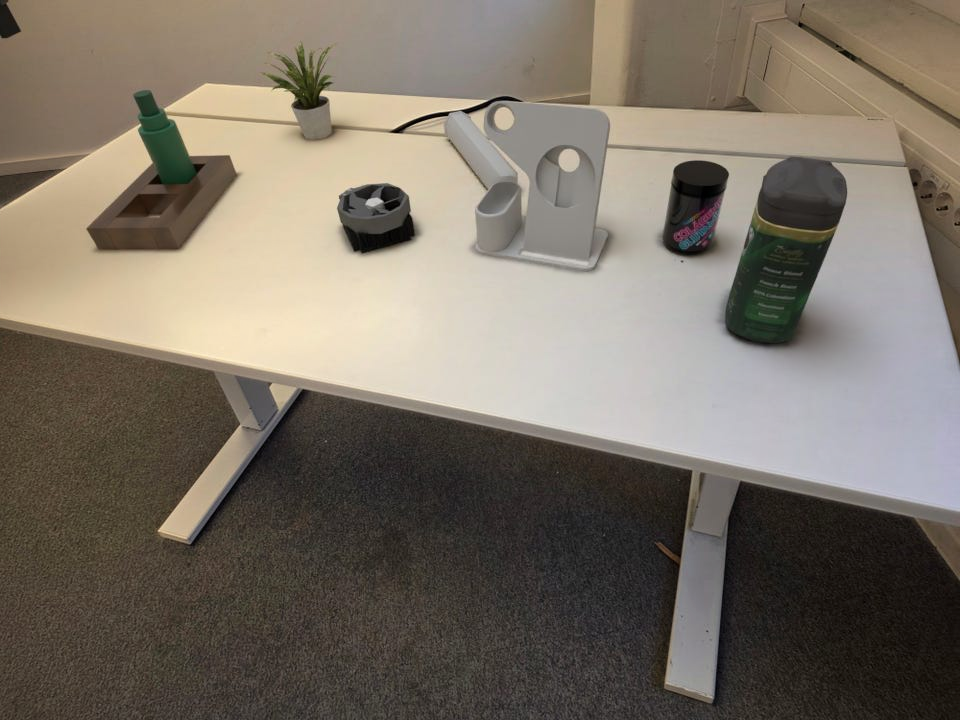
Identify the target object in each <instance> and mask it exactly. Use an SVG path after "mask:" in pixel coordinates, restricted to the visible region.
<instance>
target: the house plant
mask: <svg viewBox="0 0 960 720" xmlns="http://www.w3.org/2000/svg"><path fill="white" fill-rule="evenodd" d="M337 45H339V42H337V43H333V44H331V45H329V46H327V47H326V48H325V49H324V50H323V51H322V53H321V54H320V56H319V58H318V60H317V64H316V69H315V66H314V54H315V52H317V51H319V50H321V49H322V47H318V48H316V49H314V50H313V49H311V50H310V51H309V55H308V66H307V65H306V57H305V56H306V55H305V47H304V45H303V41H300V42H299V45H298V48H296V47H294V50H295V52H296V55H297V57H296V58H297V61H298V64H299V67H300V69H299V68H298V66H297V65H296V64H295V63H294V61H293V60H292V59H290V58H289V57H288V56H287V55H285V53H282V52H281V51H278V53H279V54H277V53H273V52H267V53H268V54H269V55H273V56H274V57H276V58H275V59H277V60H280V61H281V62H282V63H283V64H284V65H285V66H286V67H287V69H284V70H283V69H281V68H279V67H277V66H276V65H274V64H271V63H268V62H264V64H265V65H269V66H271V67H273V68H275V69H277V70H279V71H280V72H281V73H282V74H284V75H285V76H286V77H287V78H288V79H289V80H290V81H291V82H292V83H291V82H290V81H288V80H286V79H285V78H282V77H280V76H278V75H275V74H273V73H270V72H263V71H262V72H260V73H261V74H262V75H264V76H266V77H268V78H269V79H270V80H272V81H273V82H274V83H276V84H278V85H275V86H274V87H273V88H271V91H270V92H272V91H274V90H276V89H285V90H284V92H286V93H287V92H290V93H291V94H293V96H294V101H293V102H292V103H291V105H290V108H291V109H292V113H293V114H294V116H295V118H296V121H297V124H298V125H299V127H300V130H301V132H302V134H303V137H304V138H305V139H306V140H310V141H315V140H323V139H326V138H328V137H329V136H331V134H332V133H333V132H332V131H333V130H332V118H331V117H332V116H331V105H330V99H329V98H328V97H327V96H324V95H321V93H322V92H323V90H325V89H328V90H330V85H332V84H334V82H333V81H327V80H329V79H330V78H335V76H332V75H331V74H330V75H329V74H325V75H322V76H321V78H320V75H321V74H322V71H323V70H324V67H325V65H326V64H327V61H329V59H330V57H328V58H327V59H326V60H325V61H324V59H325V57H326V55H328V52H329V51H330V50H331V49H332V48H333V47H334V46H337ZM282 55H283V56H282ZM323 61H324V63H323ZM322 63H323V65H322ZM321 66H322V67H321ZM314 69H315V73H314ZM293 84H294V85H293Z"/></svg>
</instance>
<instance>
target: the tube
mask: <svg viewBox="0 0 960 720" xmlns="http://www.w3.org/2000/svg"><path fill="white" fill-rule="evenodd" d="M443 129H444V130H443V131H444V136H445V137H446V138H447V139H449V140H450V142H451V143H452V144H453V145H454V147H455V149H457V151H458V152H459V153H460V155H461V156H462V158H463V159H464V161H466V163H467V164H468V165H469V167H470V168H471V169H472V170H473V172H474V173H475V175H476V176H477V178H479V180H480V181H481V183H482V184H483V185H484V186H485V188H486V189H487V191H488V190H489V188H490V187H491V186H492V185H493V184H495V183H498V182H502V181H510V182H514V183H517V184H518V185H519V177H518V176H519V175H518V174H519V173H518V171H517V170H516V169H515V168H514V167H513V165H512V164H510V162H509V161H508V160H507V158H506V157H505V156H504V155H503V154H502V153H501V152H500V151H499V149H497V146H496V145H495V144H494V143H493V142H492V141H491V140H490V139H489V138H488V137H487V135H486V134H485V133H483V131H482V130H481V129H480V128H479V127H478V125H476V123H475V122H474V120H472V117H471V116H470V114H467V113H465V112H464V111H461V110H459V111H454V112H449V114H448V115H447V117H446V118H445V121H444V122H443Z"/></svg>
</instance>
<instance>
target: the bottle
mask: <svg viewBox="0 0 960 720" xmlns="http://www.w3.org/2000/svg"><path fill="white" fill-rule="evenodd" d="M132 95H133V98H134V99H133V100H134V101H135V103H136V105H137V107H138V109H139V113H138V114H137V115H136V117H137V119H138V121H139V123H140V126H139V127H138V128H137V133H138V135H139V136H140V138H141V141H142V143H143V145H144V147H145V149H146V151H147V154H148V155H149V158H150V161H151V162H152V163H153V164H154V166H155V169H156V171H157V173H158V175H159V177H160V179H161V181H162V184H163V185H164V184H189V183H190V181H191V180H192V179H193V178H194V177H195V176H196V175H197V173H196V170H195V168H194V165H193V163H192V161H191V158H190V156H191V155H190V154H189V151H188V149H187V147H186V144H185V141H184V138H183V136H182V135H181V132H180V130H179V128H178V125H177V122H176V121H175V120H174V119H171V118H169V117H168V115H167V112H166V110H165V109H164V108H162V107H159V106H158V103H157V101H156V99H155V97H154V94H153V92H152V91H151V90H149V89H144V90H138V91H136V92H135V93H133V94H132Z"/></svg>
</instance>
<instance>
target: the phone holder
mask: <svg viewBox="0 0 960 720" xmlns="http://www.w3.org/2000/svg"><path fill="white" fill-rule="evenodd" d="M501 108H507V109H508V110H509V111H510V112H511V114H512V116H513V122H512V124H511V126H510V127H509V128H508V129H501V128H499V127H498V126H497V124H496V120H495V116H496V114H497V111H498V110H500V109H501ZM483 116H484V117H483V131H484V135H485V136H486V137H487V138H488V139H489V141H490V142H491V143H493V144H494V145H495V146H496V147H498V149H500V151H502V152H503V153H504V154H505V155H506V156H507V157H508V158H509V159H510V160H511V161H512V163H514V164H515V165H516V166H517V167H518V168H519V169H520V170H521V171H522V172H524V173H525V174H526V176H527V177H528V181H529V185H528V193H527V195H528V196H527V207H526V213H525V214H526V216H525V217H523V214H522V213H523V212H522V211H523V210H522V188H521V185H519V183H518V184H517V183H514V182H510V181H502V182H498V183H495V184H493V185H492V186H491V187H490V188H489V190H488V189H487V191H486V192H485V194H484V195H483V196H482V198H481V199H480V200H479V202H478V203H477V204H476V206H475V207H474V216H475V228H476V229H475V230H476V244H475V245H474V246H475V251H476V252H477V253H478V254H481V255H487V256H492V257H498V258H504V259H510V260H515V261H520V262H526V263H527V262H528V263H532V264H533V263H534V264H537V265H538V264H539V265H545V266H550V267H555V268H562V269H568V270H574V271H579V272H589V271H592V270H594V269H595V268H596V266H597V264H598V262H599V259H600V256H601V254H602V252H603V249H604V247H605V245H606V243H607V240H608V237H609V233H608V232H607V230H605V229H602V228H597V227H596V226H597V220H598V219H597V218H598V211H599V205H600V198H601V192H602V184H603V178H604V172H605V165H606V158H607V151H608V145H609V138H610V131H611V121H610V118H609V116H608V115H607V113H606V112H604V111H603V110H601V109H600V108H592V107H582V106H581V107H580V106H571V105H558V104H546V103H536V102H522V101H511V100H495V101H494V102H492V103H490V104H489V105H488V107H487V108H486V110H485V111H484V115H483ZM565 150H572V151H574V152H576V153H577V156H578V158H579V163H578V166H577V167H576V168H575V169H574V170H571V171H566V170H564V169H563V168H562V167H561V166H560V162H559V161H560V160H559V159H560V156H561V154H562V153H563V152H564V151H565ZM523 252H524V253H529V254H535V255H541V256H548V257H553V258H560V259H566V260H571V261H577V262H583V263H588V264H587V265H585V264H578V263H572V262H566V261H560V260H554V259H549V258H543V257H536V256H531V255H525V254H522V253H523Z"/></svg>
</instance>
